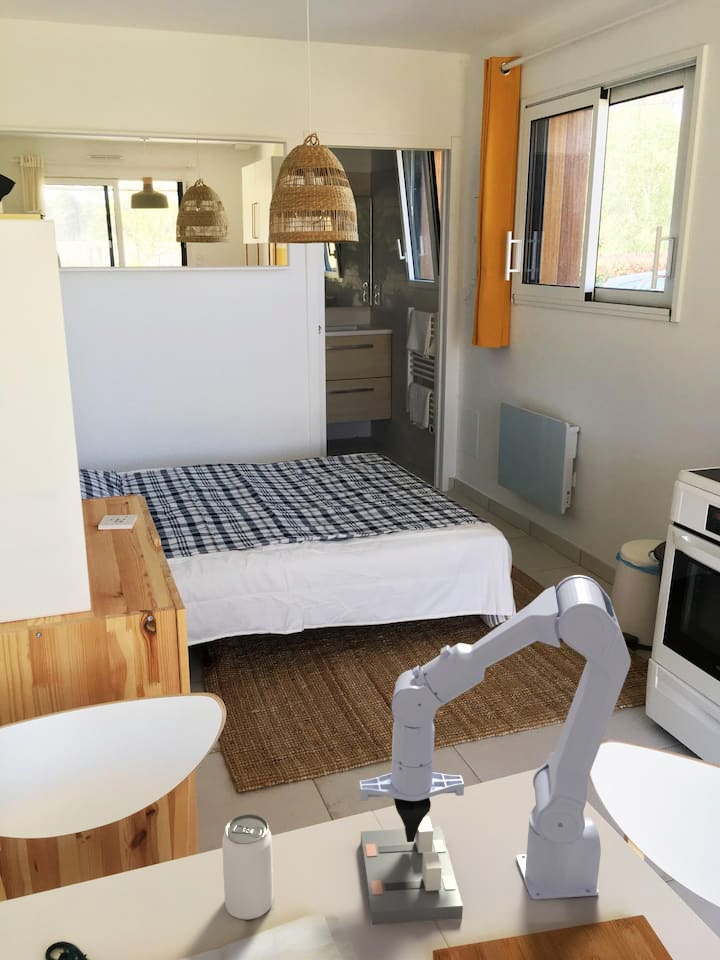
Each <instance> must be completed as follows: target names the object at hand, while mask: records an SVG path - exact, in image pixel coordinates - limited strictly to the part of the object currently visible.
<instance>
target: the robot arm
mask: <svg viewBox="0 0 720 960" xmlns="http://www.w3.org/2000/svg"><path fill="white" fill-rule="evenodd" d="M560 639H562V641H563V642H564V643H565V644H566V645H567V646H568V647H570V648H571V649H572V650H574V651H576V652H577V653H579V655H582V656H583V657H584V658H585V660H586V663H585V666H584V669H583V671H582V675H581V677H580V679H579V682H578V684H577V689H576V691H575V694H574V696H573V699H572V702H571V705H570V707H569V711H568V713H567V717H566V719H565V722H564V723H563V724H564V725H563V728H562V730H561V733H560V735H559V738H558V741H557V744H556V747H555V750H554V751H553V752H550V753H549V754H548V756H547V759H546V761H545V762H544V763H543V765H541V766H540V767H539V768H537V770H536V771H535V773H534V775H533V778H532V783H533V784H532V785H533V788H534V797H535V798H534V799H535V805H534V806H533V808H532V810H531V811H530V812H529V813H530V814H529V820H528V831H527V833H528V834H527V842H526V843H527V844H526V854H517V855H516V856H515V857H516V859H515V860H516V862H517V865H518V867H519V871H520V872H521V875H522V878H523V880H524V884H525V886H526V888H527V890H528V894H529V896H530V898H531V899H532V900H546V899H547V900H548V899H561V898H563V899H564V898H574V897H575V898H576V897H591V896H592V897H593V896H594V897H595V896H598V895H599V893H600V891H599V889H598V881H599V872H600V871H599V870H600V864H601V862H600V861H601V855H602V854H601V851H602V848H601V847H602V846H601V840H600V835H599V831H598V827H597V825H596V824H595V821H594V820H593V819H592V818H591V817H587V816H584V810H585V807H586V804H587V799H588V798H587V797H588V790H589V789H588V788H589V777H590V774H591V771H592V768H593V766H594V763H595V760H596V758H597V756H598V753H599V749H600V748H601V744H602V742H603V739H604V736H605V734H606V731H607V729H608V725H609V723H610V721H611V718H612V714H613V713H614V710H615V708H616V704H617V702H618V699H619V696H620V694H621V691H622V690H623V685H624V683H625V680H626V678H627V675H628V672H629V670H630V668H631V662H632V659H631V655H630V653H629V650H628V647H627V644H626V641H625V637H624V636H623V633H622V629H621V627H620V624H619V621H618V617H617V615H616V613H615V610H614V607H613V603H612V601H611V598H610V597H609V595H608V594H607V592H606V591H605V590H604V589H603V588H602V587H601V585H600V584H599V583H598V582H597V581H596V580H594V579H593V578H591V577H589V576H587V575H582V574H574V575H570V576H567V577H565V578H564V579H563V580H561V581H560V582H559V583H558V584H557V585H556V588H555V585H553V586H550V587H549V588H546V589H544V590H543V592H541V593H540V594H539V595H538V596H537V597H536V598H534V600H532V601H531V602H530V603H528V605H527V606H524V608H522V609H520V610H519V611H518V612H516V613H515V614H514V615H512V616H511V617H509V618H508V619H507V620H505V621H504V622H502V623H501V624H500V625H498V626H497V627H495V628H494V629H493V630H491V631H490V632H489V633H487V634H486V635H485V636H483V637H481V638H480V639H479V640H478V641H475V642H474V643H473V644H468V643H462V642H458V643H457V644H455V645H453V646H450V645H448V644H446V645H445V646H444V647H442V648H441V649H440V654H439V655H437V656H436V657H435V658H433V659H431V660H430V661H428V662H426V663H425V664H424V665H422V666H420V665H416V666H415V667H413V668H412V669H409V670H406V671H404V672H402V673H401V674H400V675H399V676H398V677H397V680H396V681H395V683H394V691H393V696H392V700H391V711H392V715H393V724H392V742H391V743H392V744H391V772H389V773H386V774H384V775H380V776H377V777H373V778H367V779H363V780H359V783H358V784H359V787H358V788H359V789H358V793H359V794H358V795H359V799H360V801H361V802H365V801H368V800H369V798H382V797H383V798H385V797H386V798H391V799H393V801H394V807H395V809H396V811H397V814H398V815H399V816H400V819H401V821H402V823H403V826H404V829H405V834H406V839H407V842H414V839H415V835H416V832H417V830H418V827H419V825H420V823H421V821H422V820H423V818H424V817H427V814H428V813H429V812H430V810H431V806H432V805H431V804H432V802H431V799H430V798H432V797H435V796H438V795H441V794H455V796H457V797H458V796H459V797H461V796H464V794H465V783H464V778H463V776H462V775H460V774H459V775H454V774H453V775H452V774H445V773H440V772H433V770H434V755H435V754H434V753H435V752H434V751H435V749H434V748H435V729H436V728H435V723H434V719H435V717H436V713H437V710H438V709H439V708H441V706H442V707H443V706H445V705H446V704H447V703H449V702H451V701H452V700H454V699H455V698H457V697H459V696H461V695H462V694H464V693H465V692H467V691H469V690H470V689H472V688H474V687H475V686H477V685H478V684H480V683H481V682H482V681H484V677H485V674H486V673H485V671H486V669H487V668H488V667H491V666H492V665H494V664H496V663H498V662H500V661H501V660H503V659H505V658H507V657H509V656H510V655H512V654H515V653H517V652H518V651H520V650H521V649H524V648H526V647H528V646H530V645H531V644H533V643H534V642H541V643H543V644H547V645H549V646H552V647H555V648H561V646H562V645H561V640H560Z"/></svg>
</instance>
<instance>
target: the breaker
mask: <svg viewBox="0 0 720 960" xmlns="http://www.w3.org/2000/svg"><path fill="white" fill-rule="evenodd" d="M441 871H442V867H441V863H440V860H439V856H438V852H423V862H422V876H423V881H424V885H425V890H426V891H433V890H441Z"/></svg>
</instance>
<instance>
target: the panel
mask: <svg viewBox="0 0 720 960" xmlns="http://www.w3.org/2000/svg"><path fill="white" fill-rule="evenodd" d="M432 829H433V845H432V852H438V856H439V860H440V863H441V867H442V871H441V890H433V891H426V890H425V885H424V881H423V876H422V862H423V853H418V850H417V845H416V841H415V839H414V842H407V839H406V834H405V828H399V829H398V828H397V829H385V830H384V829H383V830H381V829H380V830H366V831H362V830H361V831H360V849H361V856H362V863H363V869H364V877H365V884H366V892H367V898H368V899H367V900H368V906H369V915H370V921H371V925H381V924H382V925H383V924H393V923H395V924H397V923H408V922H424V921H436V920H439V921H440V920H451V919H452V920H453V919H454V920H455V919H462V918H463V911H464V906H463V905H464V904H463V901H462V898H461V894H460V891H459V887H458V884H457V879H456V876H455V872H454V869H453V865H452V861H451V858H450V857H451V856H450V855H449V851H448V847H447V843H446V840H445V839H446V838H445V836H444V833H443V829H442V826H434V827H433V826H432Z"/></svg>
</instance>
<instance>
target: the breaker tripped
mask: <svg viewBox="0 0 720 960" xmlns="http://www.w3.org/2000/svg"><path fill="white" fill-rule="evenodd" d="M432 827H433V826H432V822H431V817H430V816H425V817H424V818H423V820H422V821H421V823H420V825H419V827H418V830H417V832H416V835H415V841H416V845H417V850H418V853H423V852H432V845H433V829H432Z"/></svg>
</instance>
